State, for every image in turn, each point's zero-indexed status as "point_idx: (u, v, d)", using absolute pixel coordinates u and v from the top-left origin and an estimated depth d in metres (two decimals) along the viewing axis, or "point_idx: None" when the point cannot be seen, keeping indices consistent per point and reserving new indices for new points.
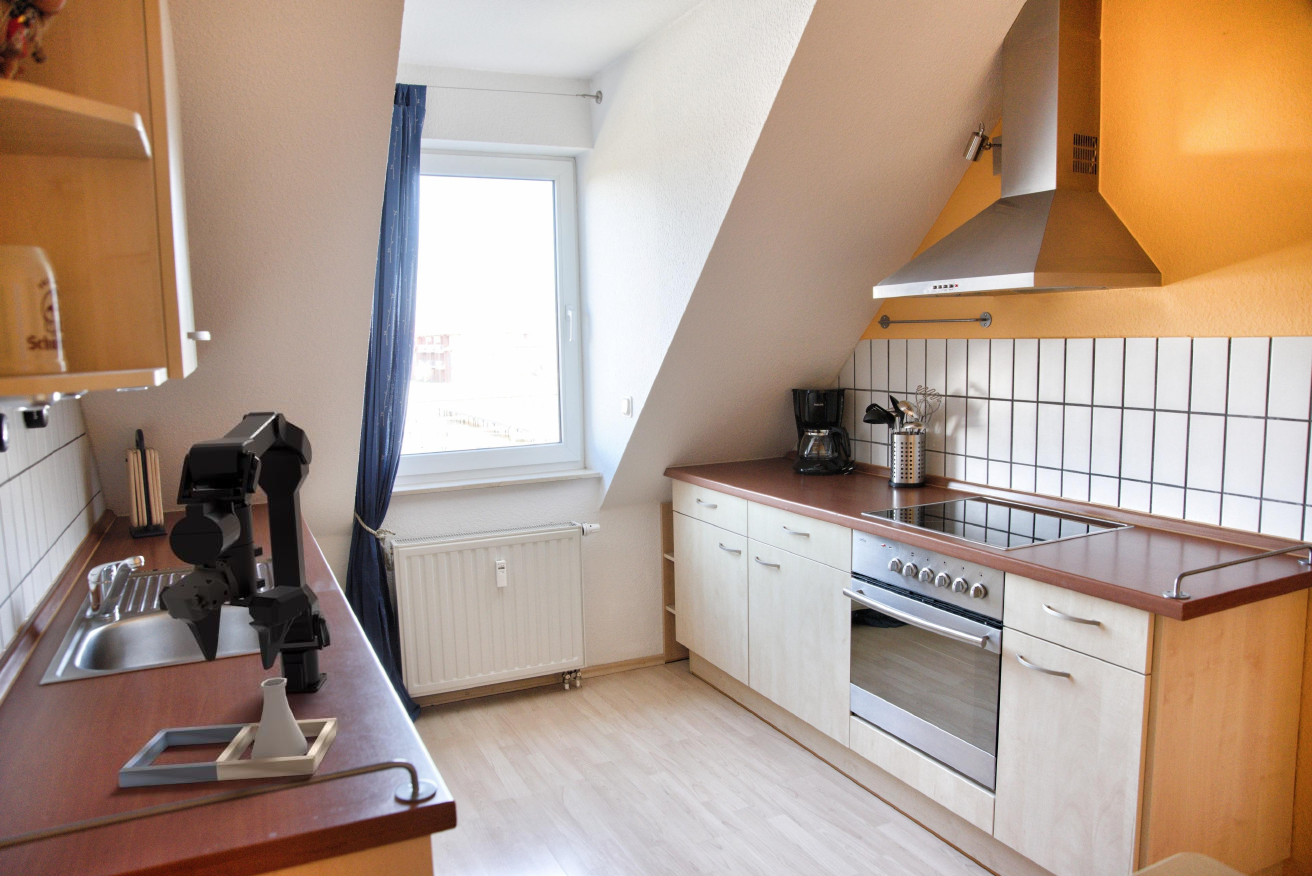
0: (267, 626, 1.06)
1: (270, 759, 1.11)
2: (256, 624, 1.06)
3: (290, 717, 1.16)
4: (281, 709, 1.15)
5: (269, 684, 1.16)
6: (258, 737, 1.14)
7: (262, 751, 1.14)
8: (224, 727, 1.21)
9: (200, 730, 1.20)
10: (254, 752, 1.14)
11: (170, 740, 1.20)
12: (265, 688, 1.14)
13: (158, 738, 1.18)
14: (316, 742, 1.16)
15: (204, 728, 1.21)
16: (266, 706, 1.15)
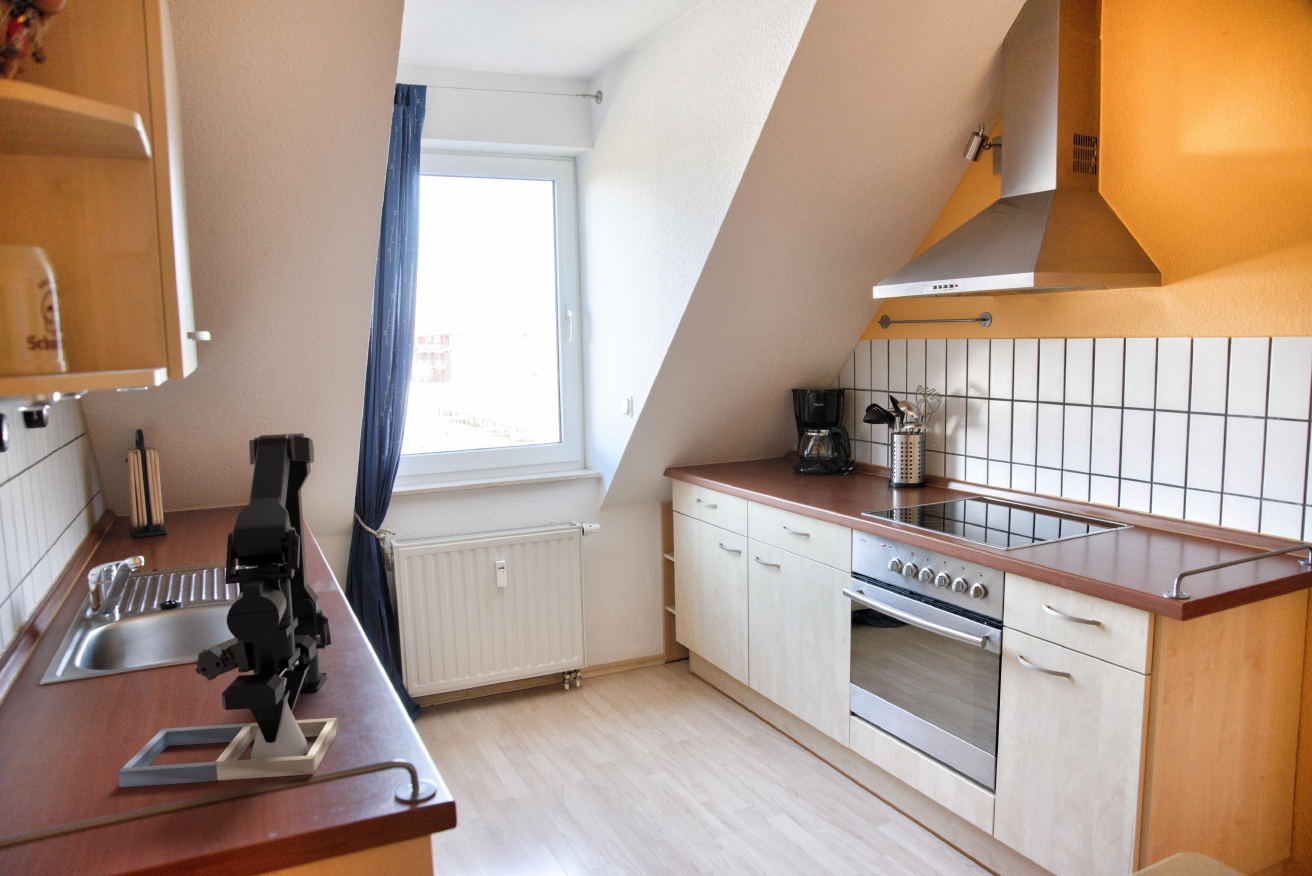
0: None
1: (270, 759, 1.11)
2: None
3: (290, 717, 1.16)
4: None
5: None
6: (258, 737, 1.14)
7: (262, 751, 1.14)
8: (224, 727, 1.21)
9: (200, 730, 1.20)
10: (254, 752, 1.14)
11: (170, 740, 1.20)
12: None
13: (158, 738, 1.18)
14: (316, 742, 1.16)
15: (204, 728, 1.21)
16: None
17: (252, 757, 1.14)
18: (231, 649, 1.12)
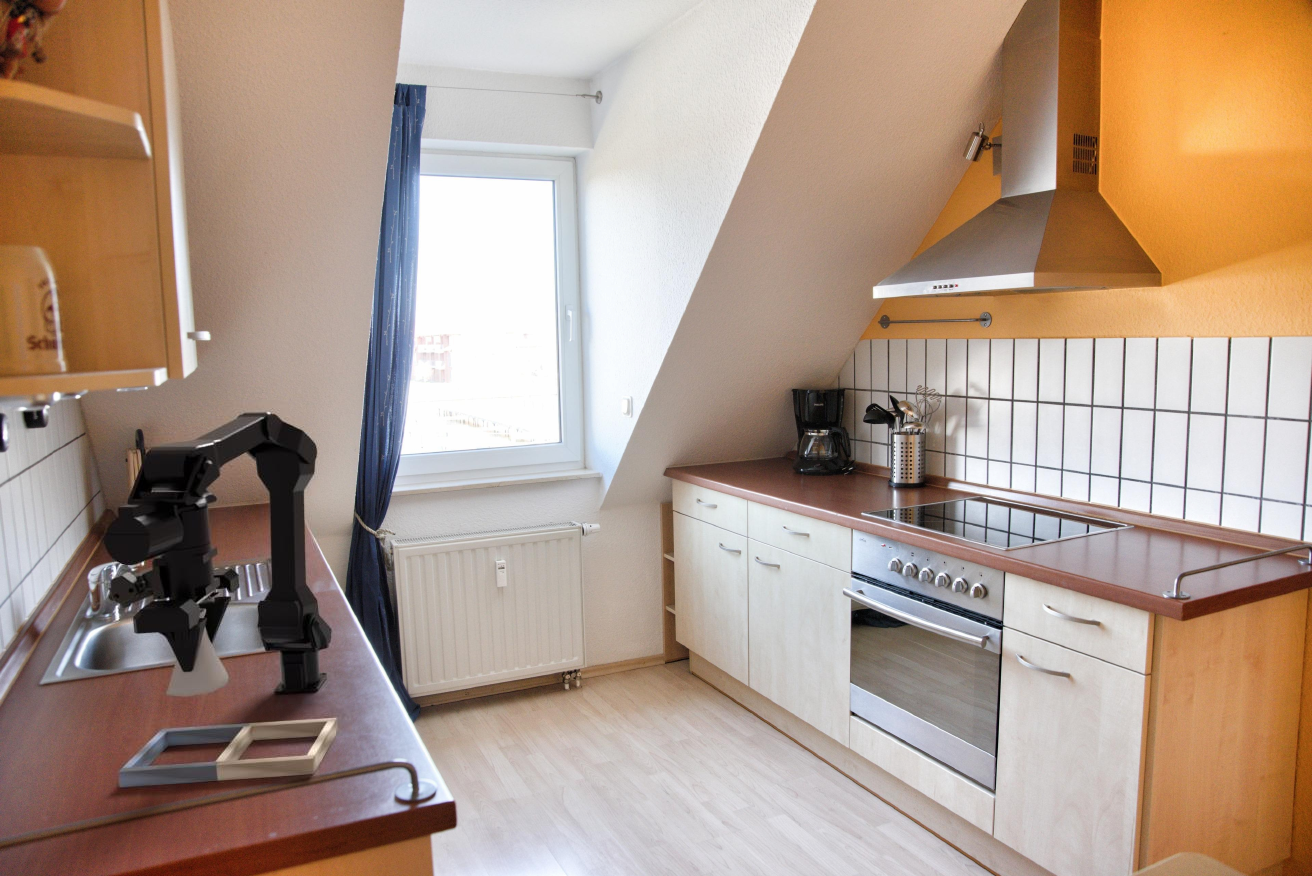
0: None
1: (270, 759, 1.11)
2: None
3: (209, 648, 1.14)
4: None
5: None
6: (175, 667, 1.12)
7: (180, 681, 1.12)
8: (224, 727, 1.21)
9: (200, 730, 1.20)
10: (171, 683, 1.12)
11: (170, 740, 1.20)
12: None
13: (158, 738, 1.18)
14: (316, 742, 1.16)
15: (204, 728, 1.21)
16: None
17: (169, 688, 1.12)
18: (146, 576, 1.10)
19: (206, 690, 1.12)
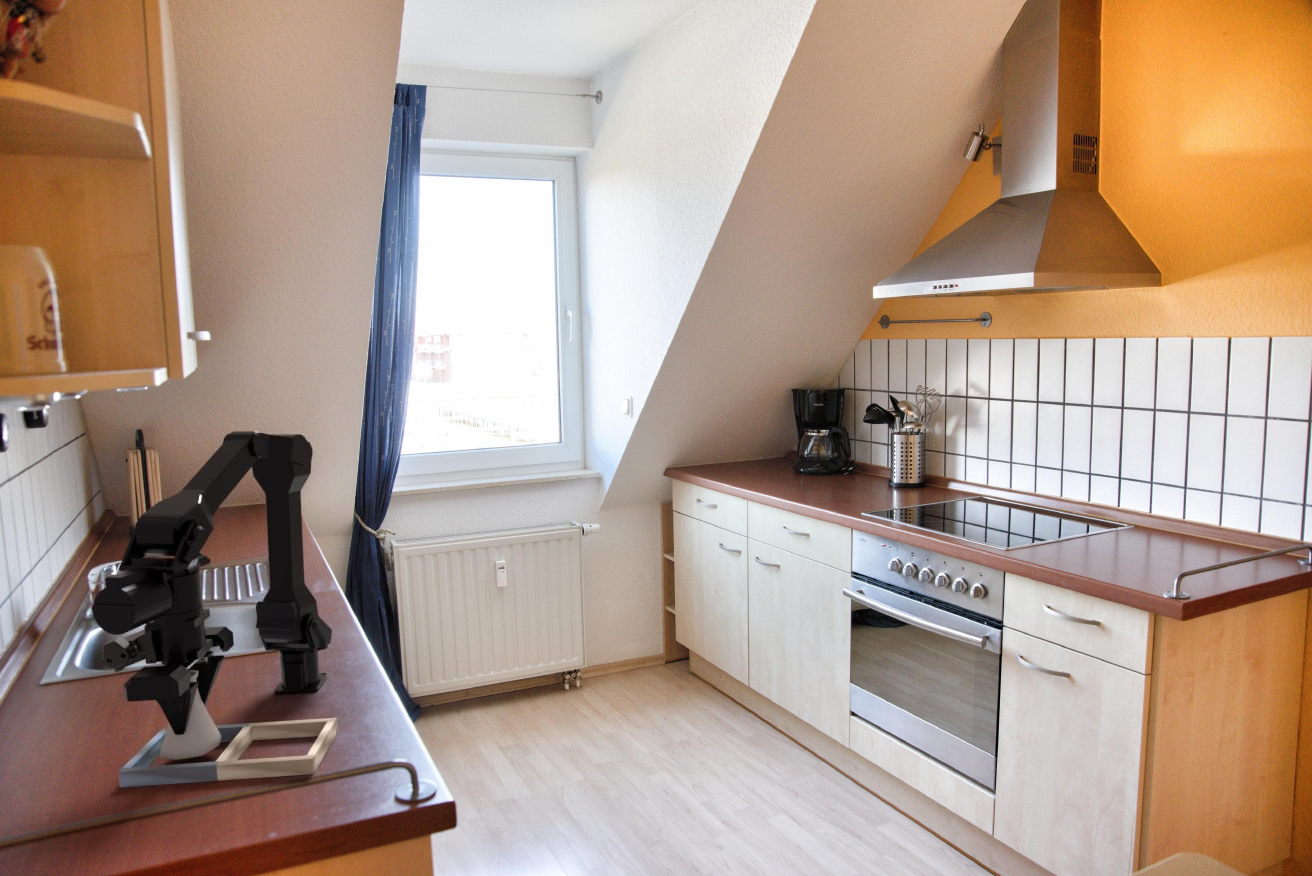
0: None
1: (270, 759, 1.11)
2: None
3: (201, 710, 1.15)
4: None
5: None
6: (168, 730, 1.13)
7: (172, 744, 1.13)
8: (224, 727, 1.21)
9: None
10: (164, 745, 1.13)
11: None
12: None
13: (158, 738, 1.18)
14: (316, 742, 1.16)
15: None
16: None
17: (161, 750, 1.13)
18: (138, 640, 1.11)
19: (197, 753, 1.13)
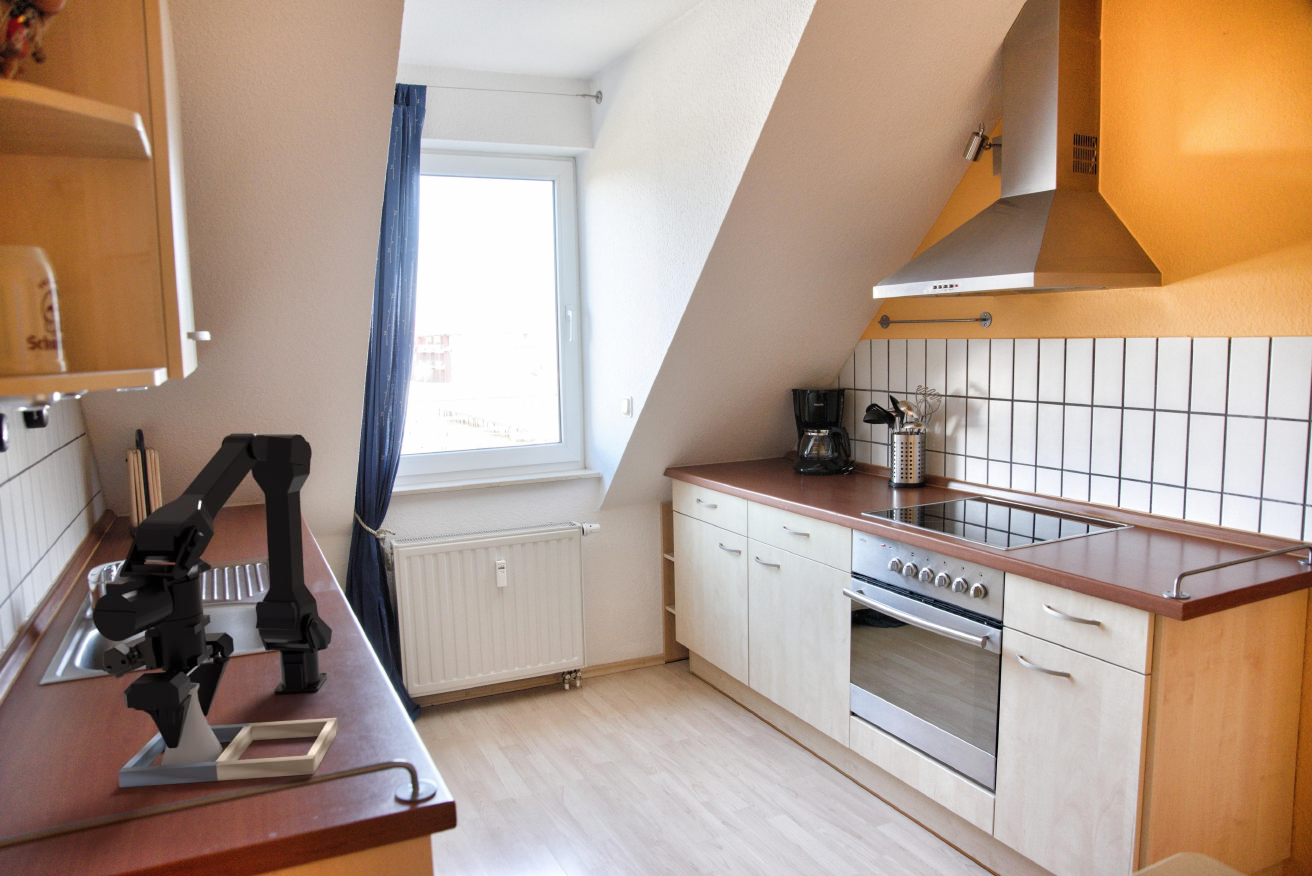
0: None
1: (270, 759, 1.11)
2: None
3: (202, 722, 1.15)
4: (192, 715, 1.14)
5: None
6: None
7: (172, 757, 1.13)
8: (224, 727, 1.21)
9: None
10: (165, 758, 1.13)
11: None
12: None
13: (158, 738, 1.18)
14: (316, 742, 1.16)
15: None
16: None
17: (162, 763, 1.13)
18: (139, 647, 1.11)
19: None
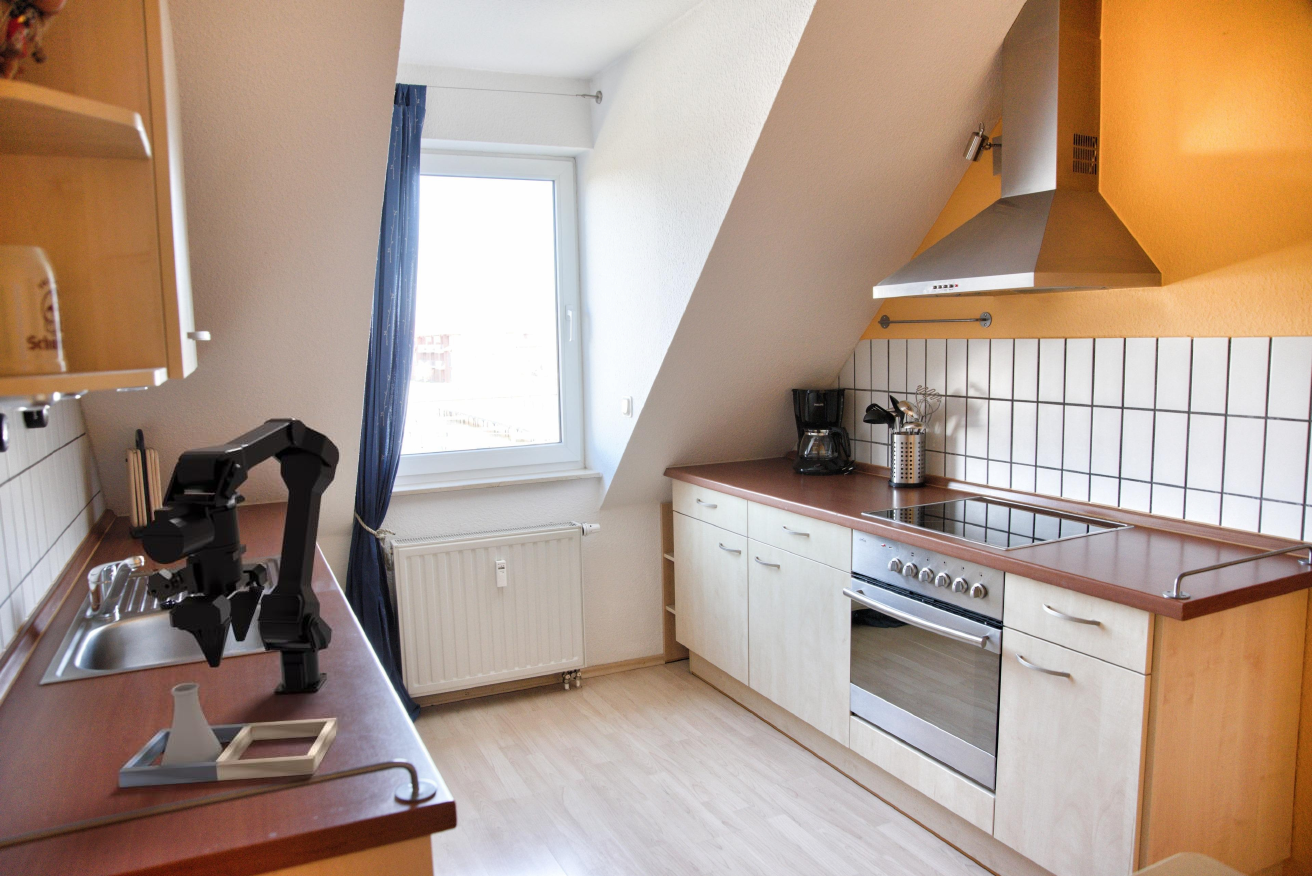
0: None
1: (270, 759, 1.11)
2: None
3: (202, 722, 1.15)
4: (192, 715, 1.14)
5: (181, 689, 1.15)
6: (168, 743, 1.13)
7: (172, 757, 1.13)
8: (224, 727, 1.21)
9: None
10: (165, 758, 1.13)
11: None
12: (175, 694, 1.13)
13: (158, 738, 1.18)
14: (316, 742, 1.16)
15: None
16: (177, 711, 1.14)
17: (162, 763, 1.13)
18: (180, 572, 1.17)
19: None
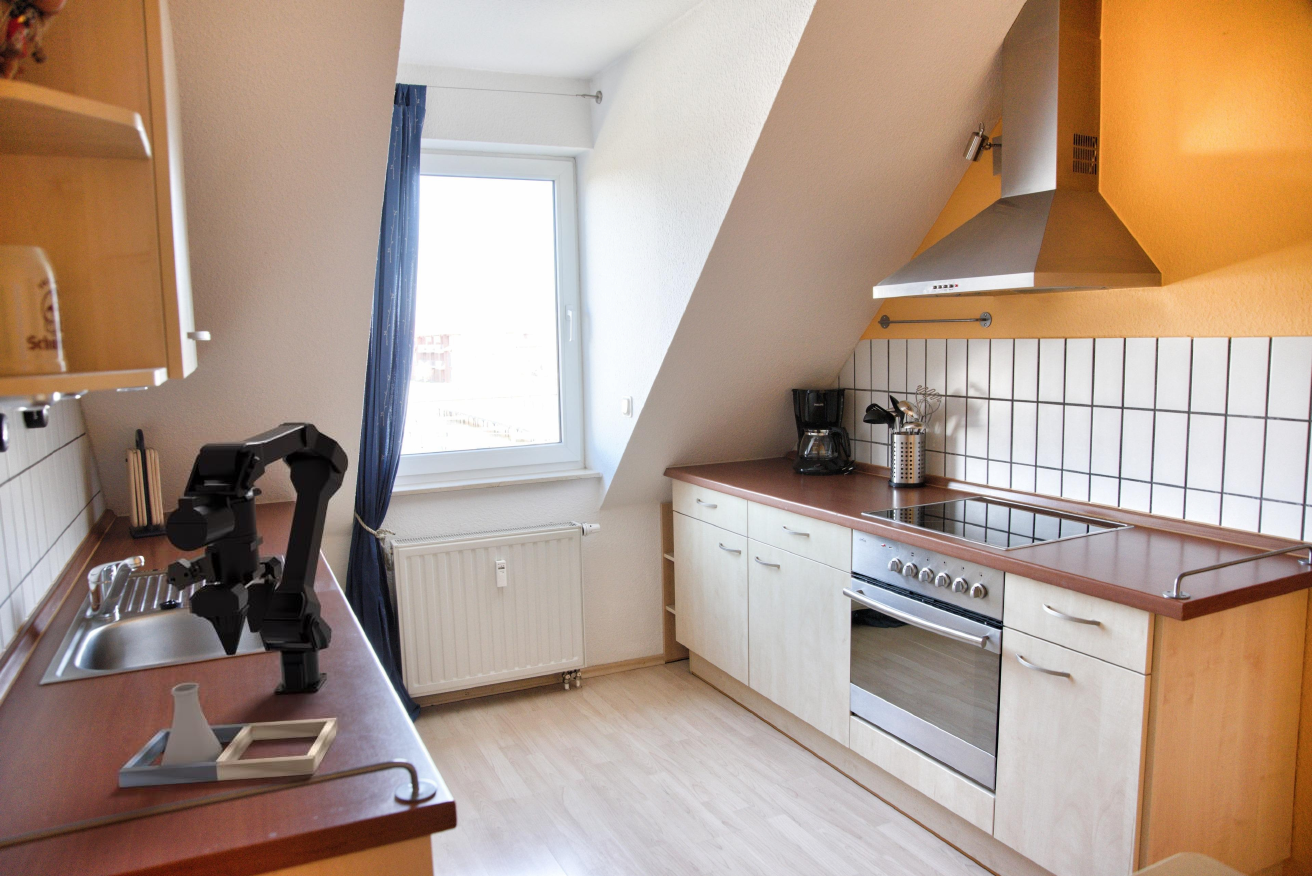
0: (196, 615, 1.16)
1: (270, 759, 1.11)
2: None
3: (202, 722, 1.15)
4: (192, 715, 1.14)
5: (181, 689, 1.15)
6: (168, 743, 1.13)
7: (172, 757, 1.13)
8: (224, 727, 1.21)
9: None
10: (165, 758, 1.13)
11: None
12: (176, 694, 1.13)
13: (158, 738, 1.18)
14: (316, 742, 1.16)
15: None
16: (177, 711, 1.14)
17: (162, 763, 1.13)
18: (199, 562, 1.20)
19: None
